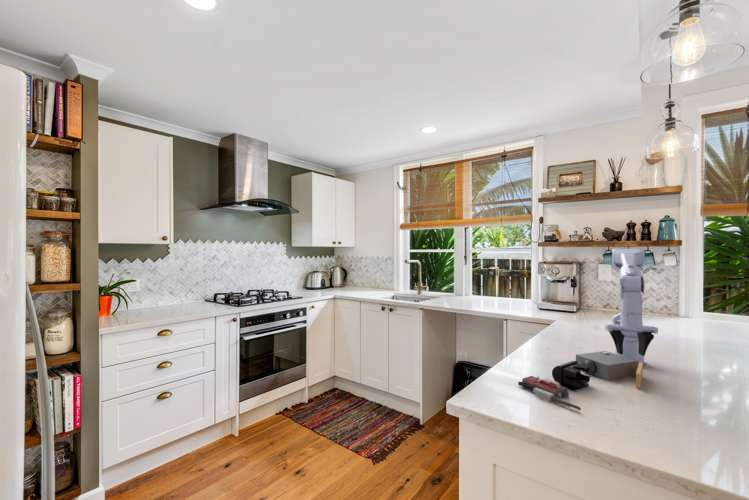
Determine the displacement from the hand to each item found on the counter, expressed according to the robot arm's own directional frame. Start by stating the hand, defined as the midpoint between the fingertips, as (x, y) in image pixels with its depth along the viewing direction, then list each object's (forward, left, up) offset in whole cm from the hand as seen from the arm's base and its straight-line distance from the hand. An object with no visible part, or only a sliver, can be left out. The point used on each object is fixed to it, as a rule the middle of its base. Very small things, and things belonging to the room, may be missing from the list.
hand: (630, 354), depth 113 cm
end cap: (+20, -5, -10) cm, 23 cm away
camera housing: (-3, -10, -9) cm, 14 cm away
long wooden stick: (-3, +1, -9) cm, 10 cm away
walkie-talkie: (+33, 0, -10) cm, 34 cm away
